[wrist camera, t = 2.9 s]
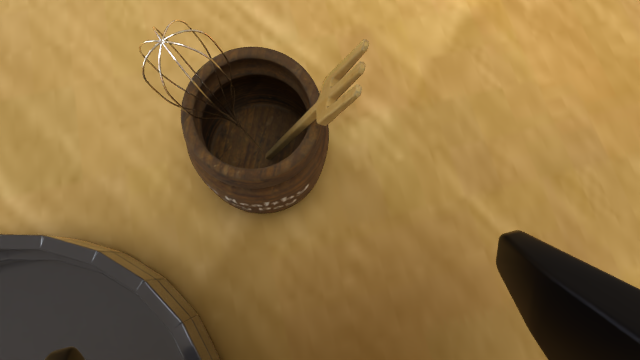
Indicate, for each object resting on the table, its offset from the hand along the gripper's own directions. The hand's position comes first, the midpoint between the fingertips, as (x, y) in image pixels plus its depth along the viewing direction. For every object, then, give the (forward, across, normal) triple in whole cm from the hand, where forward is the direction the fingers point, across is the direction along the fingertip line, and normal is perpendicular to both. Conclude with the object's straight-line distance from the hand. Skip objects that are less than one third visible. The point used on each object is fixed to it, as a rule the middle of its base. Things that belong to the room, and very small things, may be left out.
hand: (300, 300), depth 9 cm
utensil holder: (+13, 0, +5) cm, 14 cm away
